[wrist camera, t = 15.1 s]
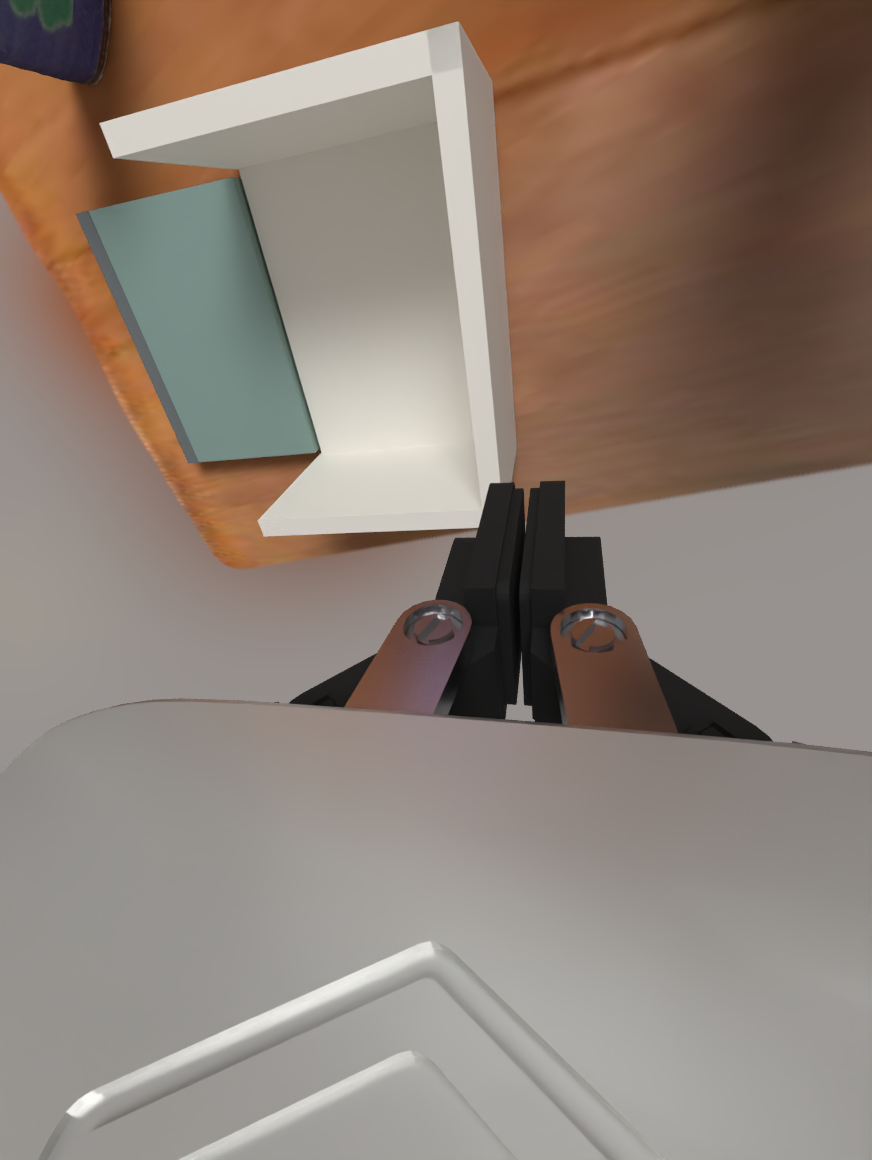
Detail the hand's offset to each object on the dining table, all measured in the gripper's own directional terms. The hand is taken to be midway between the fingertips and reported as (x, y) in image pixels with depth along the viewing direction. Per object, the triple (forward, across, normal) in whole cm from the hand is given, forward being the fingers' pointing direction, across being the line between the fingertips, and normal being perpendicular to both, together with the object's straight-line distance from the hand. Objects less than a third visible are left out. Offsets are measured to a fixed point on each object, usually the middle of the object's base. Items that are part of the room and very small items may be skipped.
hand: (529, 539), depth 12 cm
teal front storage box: (+28, +11, -1) cm, 30 cm away
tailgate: (+27, +19, -1) cm, 33 cm away
